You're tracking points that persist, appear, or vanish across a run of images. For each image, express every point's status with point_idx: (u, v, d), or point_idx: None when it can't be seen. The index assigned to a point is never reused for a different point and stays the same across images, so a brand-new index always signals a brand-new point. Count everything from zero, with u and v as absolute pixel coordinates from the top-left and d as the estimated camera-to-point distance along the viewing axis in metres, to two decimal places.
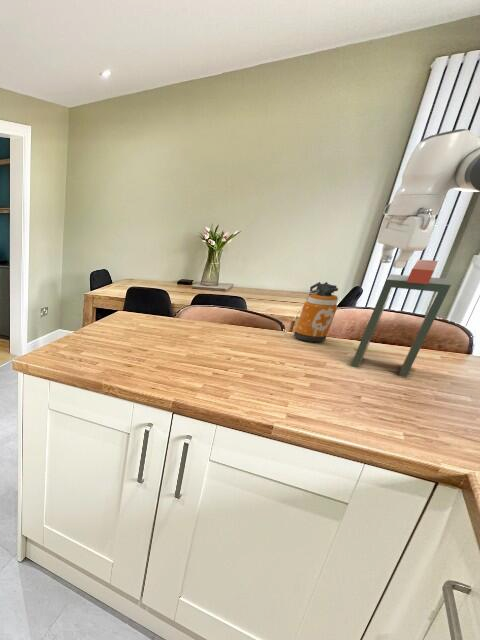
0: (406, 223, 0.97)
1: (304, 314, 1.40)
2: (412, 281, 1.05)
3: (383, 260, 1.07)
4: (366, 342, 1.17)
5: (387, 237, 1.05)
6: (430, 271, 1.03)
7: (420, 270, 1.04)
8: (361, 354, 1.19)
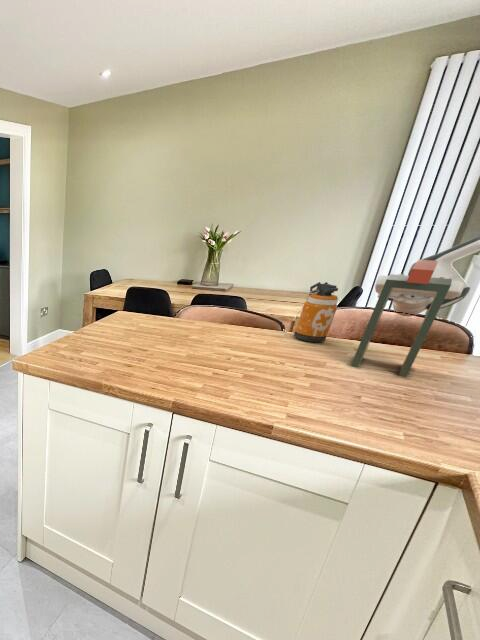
0: None
1: (304, 314, 1.40)
2: (412, 281, 1.05)
3: None
4: (366, 342, 1.17)
5: None
6: (430, 271, 1.03)
7: (420, 270, 1.04)
8: (361, 354, 1.19)
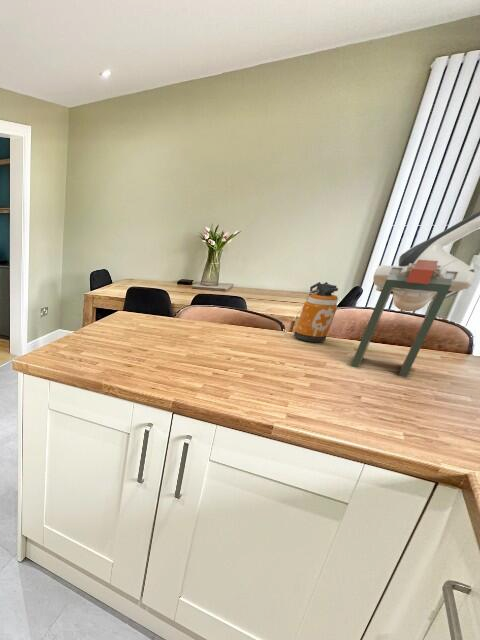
0: None
1: (304, 314, 1.40)
2: (412, 281, 1.05)
3: None
4: (366, 342, 1.17)
5: None
6: (430, 271, 1.03)
7: (420, 270, 1.04)
8: (361, 354, 1.19)
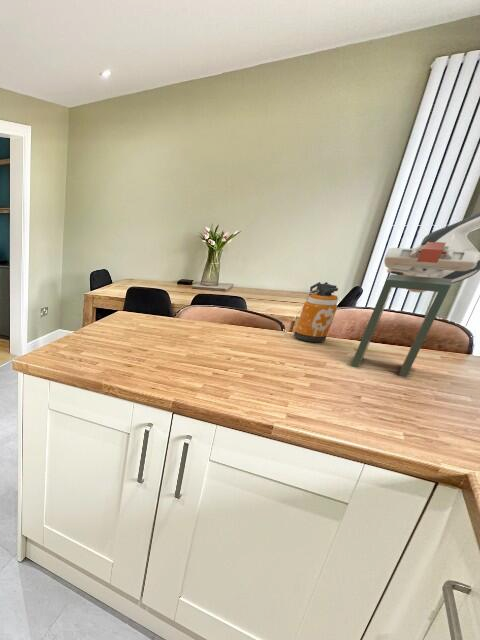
0: None
1: (304, 314, 1.40)
2: (422, 260, 1.13)
3: None
4: (366, 342, 1.17)
5: None
6: (439, 250, 1.11)
7: (430, 250, 1.12)
8: (361, 354, 1.19)
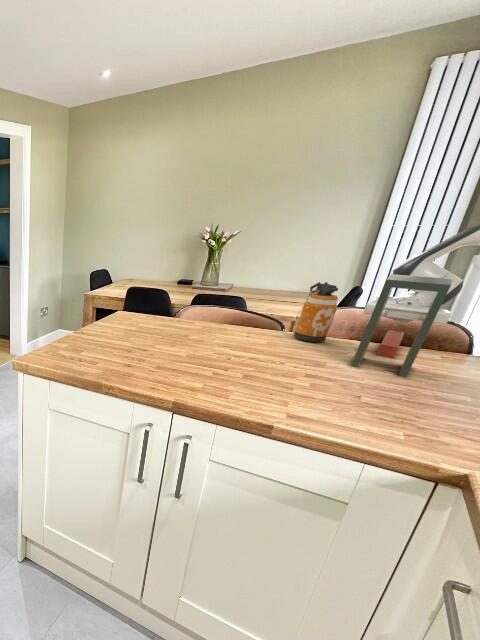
0: (428, 308, 1.33)
1: (304, 314, 1.40)
2: (381, 354, 1.28)
3: None
4: (366, 342, 1.17)
5: (392, 306, 1.37)
6: (395, 347, 1.25)
7: (387, 346, 1.26)
8: (361, 354, 1.19)
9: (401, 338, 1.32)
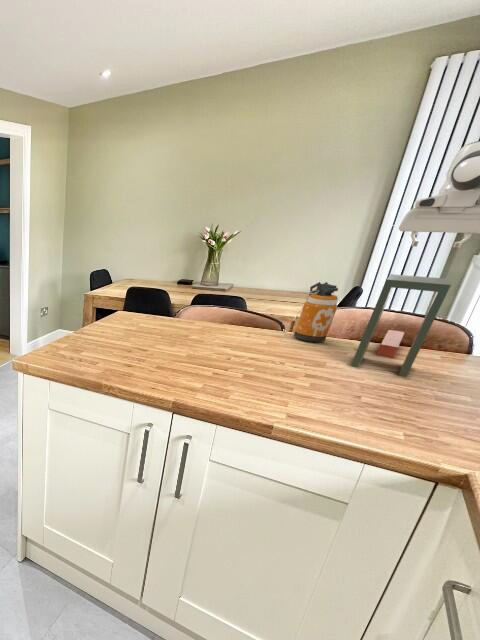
0: (473, 212, 1.21)
1: (304, 314, 1.40)
2: (381, 354, 1.28)
3: (417, 244, 1.32)
4: (366, 342, 1.17)
5: (428, 226, 1.29)
6: (395, 347, 1.25)
7: (387, 346, 1.26)
8: (361, 354, 1.19)
9: (401, 338, 1.32)
